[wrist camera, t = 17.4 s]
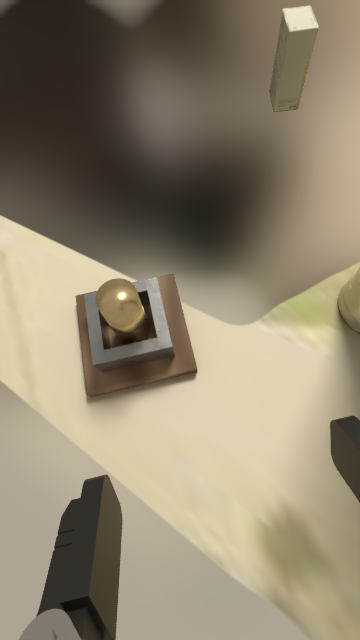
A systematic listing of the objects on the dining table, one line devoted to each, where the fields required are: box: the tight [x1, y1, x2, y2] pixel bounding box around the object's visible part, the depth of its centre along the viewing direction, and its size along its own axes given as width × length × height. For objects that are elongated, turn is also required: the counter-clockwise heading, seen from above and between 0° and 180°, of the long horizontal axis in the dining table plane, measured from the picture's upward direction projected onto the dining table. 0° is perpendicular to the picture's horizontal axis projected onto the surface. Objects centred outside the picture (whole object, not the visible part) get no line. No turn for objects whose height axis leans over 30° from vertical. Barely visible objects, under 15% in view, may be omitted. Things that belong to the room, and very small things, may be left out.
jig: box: [76, 274, 197, 397], centre depth 41 cm, size 14×14×6 cm
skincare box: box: [269, 6, 319, 112], centre depth 53 cm, size 6×4×12 cm
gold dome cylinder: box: [95, 279, 150, 345], centre depth 38 cm, size 4×4×10 cm
